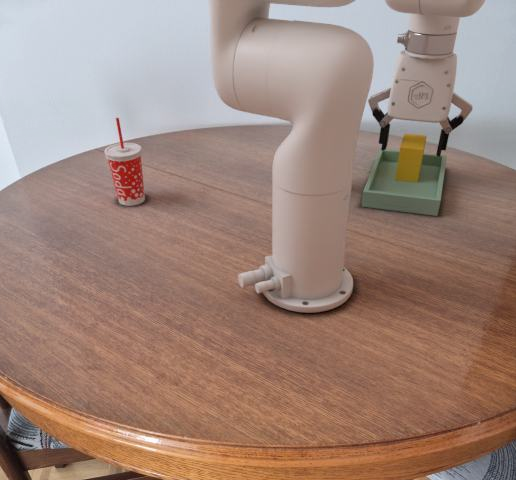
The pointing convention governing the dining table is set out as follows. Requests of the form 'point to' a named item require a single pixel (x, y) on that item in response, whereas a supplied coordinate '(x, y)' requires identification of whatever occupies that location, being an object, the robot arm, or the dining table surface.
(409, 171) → the yellow rectangular block
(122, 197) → the beverage cup
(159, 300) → the dining table surface
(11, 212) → the dining table surface
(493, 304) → the dining table surface
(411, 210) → the pan
